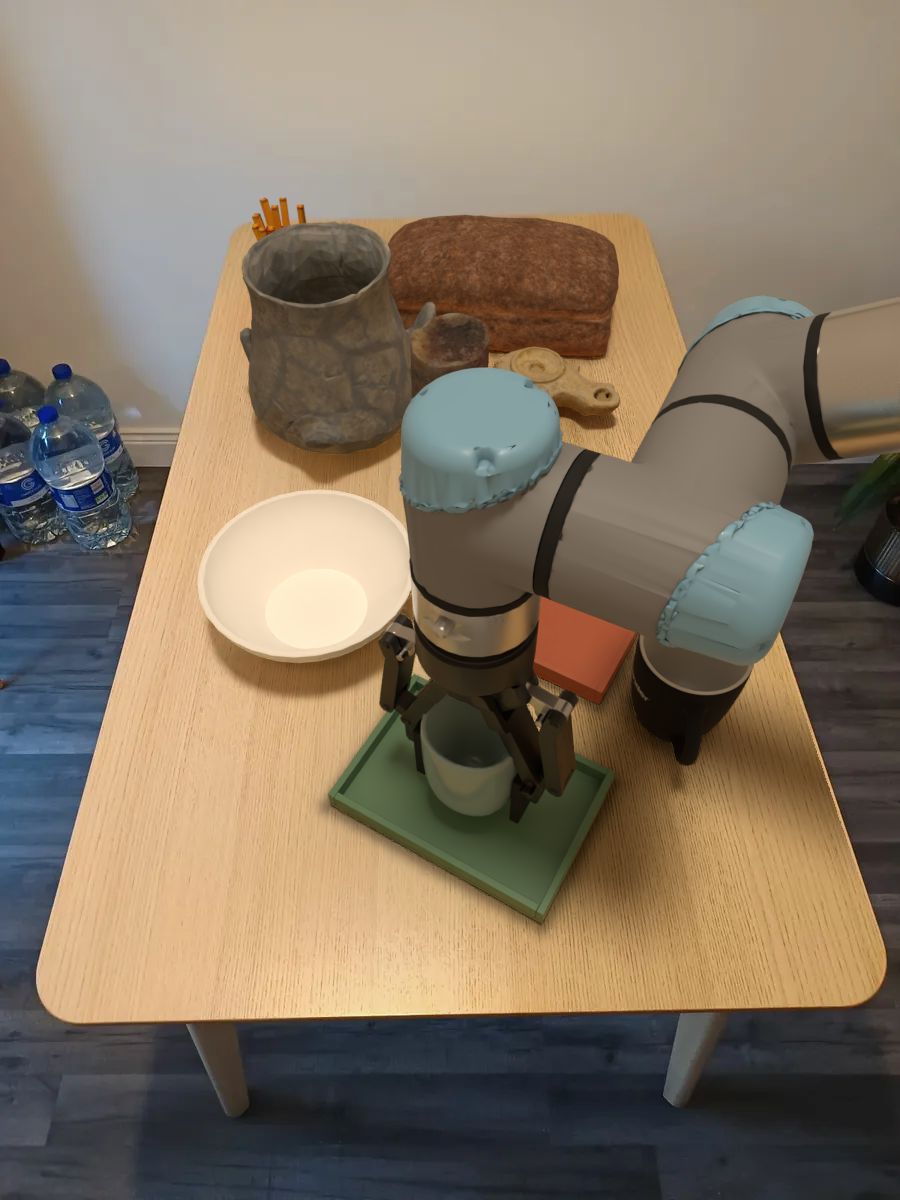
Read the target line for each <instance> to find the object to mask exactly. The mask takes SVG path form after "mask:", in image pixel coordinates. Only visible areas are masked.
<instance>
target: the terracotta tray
mask: <svg viewBox="0 0 900 1200" xmlns="http://www.w3.org/2000/svg"><path fill="white" fill-rule="evenodd" d="M638 636H639V634H638V633H635V632H633V631H630V630H628V629H625V628H622V627H620V626H617V625H614V624H612V623H609V622H607V621H604V620H601V619H599V618H596V617H594V616H591V615H588V614H586V613H583V612H580V611H578V610H575V609H573V608H570V607H567V606H565V605H562V604H560V603H557V602H554V601H552V600H549V599H547V598H544V597H542V600H541V610H540V616H539V626H538V636H537V645H536V654H535V659H534V665H533V669H534V672H535V674H536V675H537V677H538V678H541V679H543V680H545V681H547V682H549V683H552V684H554V685H556V686H558V687H560V688H562V689H563V690H568V691H571V692H573V693H574V694H575V695H576V696H579V697H582V698H584V699H586V700H588V701H590V702H592V703H594V704H597V705H601V703H602V701H603V700H604V697H605V695H606V694H607V692H608V690H609V688H610V687H611V685H612V683H613V681H614V679H615V677H616V675H617V674H618V672H619V670H620V668H621V666H622V665H623V663H624V660H625V659H626V657H627V655H628V654H629V652H630V650H631V648H632V647H633V644H634V642H635V641H636V638H638Z"/></svg>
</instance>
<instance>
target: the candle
mask: <svg viewBox="0 0 900 1200" xmlns="http://www.w3.org/2000/svg"><path fill="white" fill-rule="evenodd" d="M489 342H490V337H489V333H488V330H487V328H486V326H485V325H484V324H483V323H482V322H481V320H479V319H476V318H474V317H471V316H468V315H465V314H463V313H449V314H444V315H441V316H436V317H434V318H432V319H430V320H428V321H427V322H426V323H425V324H424V325H423V326H422V327H421V328H419V329H416V330H414V331H413V333H412V334H411V337H410V351H411V384H412V399H413V398H414V397H415V396H416V395H417V394H418V393H419V392H420V391H421V390H422V389H423V388H424V387H425V386H426V385H428V384H430V383H431V382H433V381H434V380H435V379H437V378H439V377H441V376H444V375H446V374H449V373H452V372H455V371H459V370H464V369H470V368H489V360H490V349H489Z"/></svg>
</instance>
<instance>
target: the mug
mask: <svg viewBox="0 0 900 1200" xmlns="http://www.w3.org/2000/svg"><path fill="white" fill-rule="evenodd" d="M754 665H755V663H754V664H751V665H746V666H740V665H734V664H731V663H728V662H725V661H722V660H719V659H715V658H712V657H709V656H706V655H703V654H700V653H696V652H693V651H690V650H686V649H683V648H680V647H677V648H671V647H668V646H664V645H661V644H660V643H659V642H658V641H656V640H654V639H651V638H649V637H646V636H643V635H641V634H638V636H637V641H636V645H635V650H634V656H633V662H632V669H631V682H630V683H631V685H630V695H631V703H632V708H633V711H634V712H633V713H634V715H635V717H636V719H637V721H638V722H639V724H640V725H641V726H642V728H643V730H645V731H646V732H647V733H648V734H649V735H651V736H653V737H654V738H656V739H658V740H660V741H663V742H665V743H668V744H671V747H672V751H673V757H674V759H675V761H676V763H677V764H679V765H680V766H684V767H687V766H688V767H689V766H692V765H694V764H695V763H696V762H697V760H698V756H699V753H700V751H701V745H702V740H703V739H702V738H703V737H705V736H706V735H707V734H709V733H710V732H711V731H713V730H714V729H715V728H716V727H717V725H719V723H721V721H722V720H723V719H724V717H725V716H726V715H727V714H728V712H729V711H730V710H731V708H732V707H733V706H734V705H735V702H736V701H737V699H739V697H740V695H741V694H742V691H743V690H744V688H745V687H746V685H747V683H748V681H749V679H750V676H751V675H752V672H753V669H754Z"/></svg>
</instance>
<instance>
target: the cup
mask: <svg viewBox="0 0 900 1200" xmlns="http://www.w3.org/2000/svg"><path fill="white" fill-rule="evenodd" d="M420 736H421V750H422V758H423V765H424V769H425V773H426V777H427V781H428V783H429V786H430V787H431V789H432V791H433V793H434V794H435V796H436V797H437V798H438V799H439V800H440V802H442V803H443V804H444V805H445V806H447V807H448V808H449V809H451V810H453V811H455V812H457V813H460V814H463V815H466V816H472V817H483V816H487V815H491V814H493V813H495V812H497V811H499V810H500V809H501V808H502V807H504V806H505V805H506V804H507V803H508V802H509V801H510V799H511V792H512V782H513V780H514V778H515V777H516V775H517V774H518V772H517V770H516V768H515V766H514V764H513V759H512V757H510V756H509V754H508V752H507V750H506V748H505V746H504V744H503V742H502V740H501V738H500V736H499V734H498V733H497V732H496V731H492V730H490V729H489V728H488V726H487V724H486V722H485V720H484V718H483V716H482V714H481V712H480V711H479V710H477V709H476V708H474V707H473V706H471V705H470V704H468V703H465V702H462V701H459V700H457V699H455V698H453V697H450V696H448V694H446V695H445V696H444V697H443V698H442V699H441V700H440V701H439V702H438V703H437V704H435V705H434V706H433V707H432V708H431V709H430V710H429V711H428V712H427V713H426V714H423V716H422V720H421V734H420Z"/></svg>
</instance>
